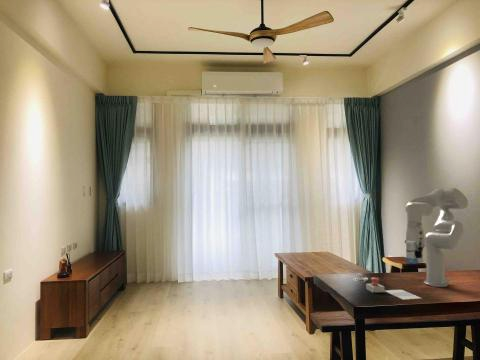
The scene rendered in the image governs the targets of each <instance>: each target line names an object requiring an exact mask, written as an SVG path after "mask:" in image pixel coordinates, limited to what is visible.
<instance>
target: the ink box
mask: <svg viewBox="0 0 480 360" xmlns="http://www.w3.org/2000/svg"><path fill="white" fill-rule="evenodd" d="M405 246H406V249H405V250H406V251H405V253H406V254H405V256H406V257H405V259H406V261H405V262H406V263H411V264H418V263H423V262H424V250H423V251H422V258H416V251H417V249H416V245H415V242H411V241H406V243H405Z"/></svg>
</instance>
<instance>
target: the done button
mask: <svg viewBox="0 0 480 360" xmlns="http://www.w3.org/2000/svg"><path fill="white" fill-rule="evenodd" d="M370 280H371V284H372V286H378V284H379V281H380V278H379V277H373V276H372V277H370Z"/></svg>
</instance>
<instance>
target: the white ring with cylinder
mask: <svg viewBox="0 0 480 360" xmlns="http://www.w3.org/2000/svg"><path fill="white" fill-rule="evenodd" d="M354 279H355V280H354ZM352 280H353V281H355V282H357V281H358V282H362V283H364V282H366V281H368V280H369V278H368V277H363V274H362V273H357V274H355V276H354V278H353V279H352Z"/></svg>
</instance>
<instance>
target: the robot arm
mask: <svg viewBox="0 0 480 360" xmlns="http://www.w3.org/2000/svg"><path fill="white" fill-rule="evenodd" d="M468 205H469V200H468V197H467V196H466V195H465V194H464V193H463V192H462V191H461V190H459V189H457V187H438V188H436V189H434V190H433V191H431V192H430V193H429V194H425V195H422V196H418V197H415V198H413V199H411V200H409V201H408V202H407V204H406V205H405V212H406V213H407V214H406V215H407V216H406V217H407V221H406V222H407V225H406V231H405V232H406V233H405V234H406V235H405V240H404V243H405V244H406V241H411V242H415V245H416V249H417V251H416V258H422V251H423V252H424V248H425V250H426V279H425V280H424V281H423V283H424V285H426V286H429V287H430V286H431V287H437V288H445V287H448V282H451V281H452V278H451V277H446V276H445V254H444V252H443V251H442V250H449V251H450V250H451V251H454V250H455V249H456V248H457V247H458V245H459V243H460V240H461V239H462V237H463V233H464V225H463V223H462V222H461V221H458V220H455V216H454V214H453V213H452V212H451V211H450V210H451V209H453V210H465V209H466V208H467V207H468ZM434 208H437V209H438V216H437V218H436V220H435V222H434V224H433V226H432V227H433V228H432V230H433V231H429V232H426V234H425V232H424V228H423V216H424V217H426V216H431V214H433V212H434Z"/></svg>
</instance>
